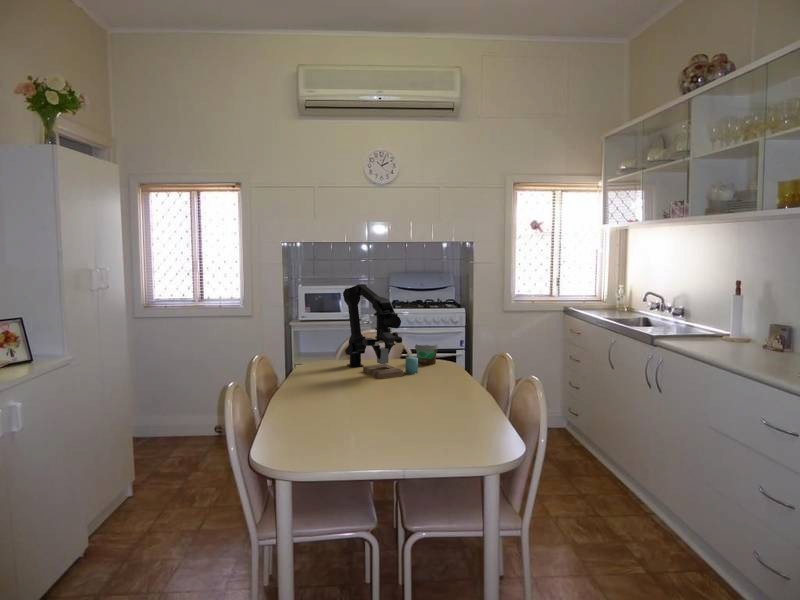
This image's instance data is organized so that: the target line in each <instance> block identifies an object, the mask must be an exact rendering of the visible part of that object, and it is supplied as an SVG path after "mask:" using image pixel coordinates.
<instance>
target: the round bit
mask: <svg viewBox="0 0 800 600" xmlns="http://www.w3.org/2000/svg"><path fill="white" fill-rule="evenodd" d="M404 365H405V374H407V373H408V375H415V373H416V374H418V373H419V364H418V358H417V356H416V357H415V356H406V357H405V364H404Z"/></svg>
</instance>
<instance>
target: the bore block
mask: <svg viewBox="0 0 800 600" xmlns="http://www.w3.org/2000/svg"><path fill="white" fill-rule="evenodd" d="M362 371H363V373H366V374H368V375H370V376H373V377H376V378H378V379H381V380H382V379H383V380H384V379H389V378H397V377H403V376H404V370H403V369H401V368H397V367H395V366H392V365H390V364H388V363H385V364H380V363H377V364H372V365H371V364H370V365H364V366H362Z"/></svg>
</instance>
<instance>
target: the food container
mask: <svg viewBox="0 0 800 600" xmlns="http://www.w3.org/2000/svg"><path fill="white" fill-rule="evenodd" d="M414 349H415V351H416V357H417V358H418V365H423V366H433V365H436V362H437V361H436V360H437V352H438V349H439V345H438V344H435V345H429V344H422V345H421V344H418V343H415V346H414Z"/></svg>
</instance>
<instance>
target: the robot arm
mask: <svg viewBox="0 0 800 600" xmlns="http://www.w3.org/2000/svg"><path fill="white" fill-rule="evenodd" d="M342 296H343V300H344V303H345V304H346V305H347V307H348V316H349V317H348V318H349V325H350V326H349V327H350V337H349V339H348V345H347V347H346V348H345V351H344V352H345V355H348V356H349V363H347V365H346V366H348V367H350V368H358V367H363V366H365V365H364V364H362V354H365V353H366V348H367V347H371V348H372V349H373V351H374V353H375V356H376V359H377V358H378V359H379V358H380V351H379V348H381V345H380V344H382V343H384V347H385V348H388V356H389V355H390V352H391V349H392V348H393V347H394V346H396V344H402V343H403V337H402V336H400V335H399V333H398V332H397V331H396V332H391V329H398V328H400V327H401V324H402V319H401V318H400V317H399V316H398V313H396V312H395V309H394V307H393V305H392V303H391V301H390V299H389V298H385V297H382V296H380V295H378V294H377V293H376V292H374V291H373V290H372V289H370V288H369V287H368V286H367V285H366V284H363V283H361V284H356V285H354V286H352V287H346V288H345V289H344V290H343V292H342ZM361 296H362V297H364V298H365V300H367V301H368V302H369V303H370V304H371V307H372V308H373V310H374V311H375V312H374V314H373V316H374V317H376V327H374V329H375V331H376V336H374V338H372V337H366V336H363V334H362V329H361V321H360V312H359V303H360V301H361Z"/></svg>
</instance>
